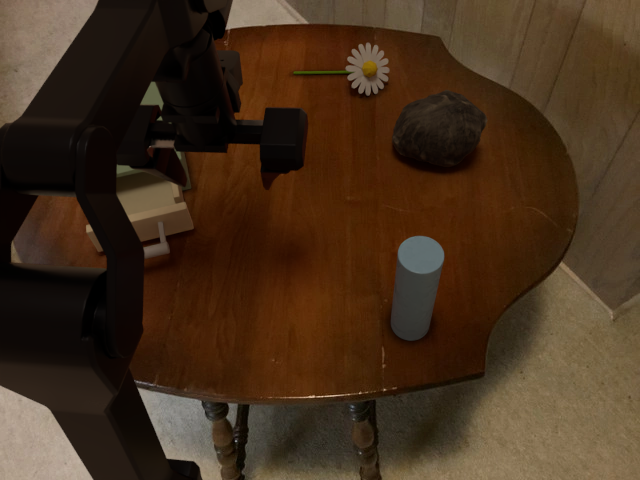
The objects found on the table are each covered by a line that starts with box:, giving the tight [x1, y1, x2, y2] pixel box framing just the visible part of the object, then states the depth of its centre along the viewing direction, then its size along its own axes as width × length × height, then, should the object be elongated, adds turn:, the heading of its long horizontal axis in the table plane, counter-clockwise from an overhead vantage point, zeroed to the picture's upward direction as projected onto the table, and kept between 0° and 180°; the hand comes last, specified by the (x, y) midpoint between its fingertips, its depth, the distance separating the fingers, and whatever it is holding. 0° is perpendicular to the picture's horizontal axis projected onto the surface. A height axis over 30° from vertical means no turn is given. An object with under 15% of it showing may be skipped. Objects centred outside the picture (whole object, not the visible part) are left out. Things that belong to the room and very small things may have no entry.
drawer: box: [85, 171, 195, 260], centre depth 78 cm, size 21×12×4 cm, turn 15°
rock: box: [391, 89, 488, 168], centre depth 80 cm, size 10×11×10 cm
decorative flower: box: [293, 42, 391, 97], centre depth 92 cm, size 8×6×15 cm
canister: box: [390, 235, 445, 342], centre depth 63 cm, size 4×4×14 cm
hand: (226, 184), depth 65 cm, fingers open, 9 cm apart
